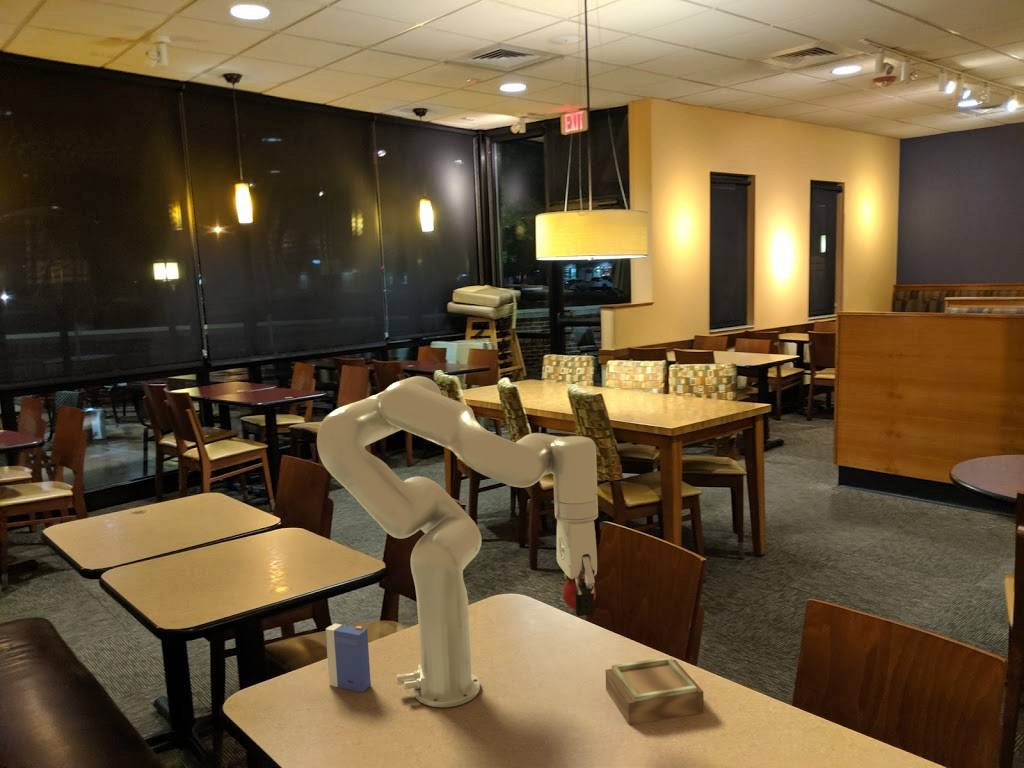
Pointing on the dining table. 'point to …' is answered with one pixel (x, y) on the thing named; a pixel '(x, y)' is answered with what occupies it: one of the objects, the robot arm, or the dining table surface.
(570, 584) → the onion
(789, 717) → the dining table surface
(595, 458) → the robot arm
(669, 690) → the plinth
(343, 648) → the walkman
